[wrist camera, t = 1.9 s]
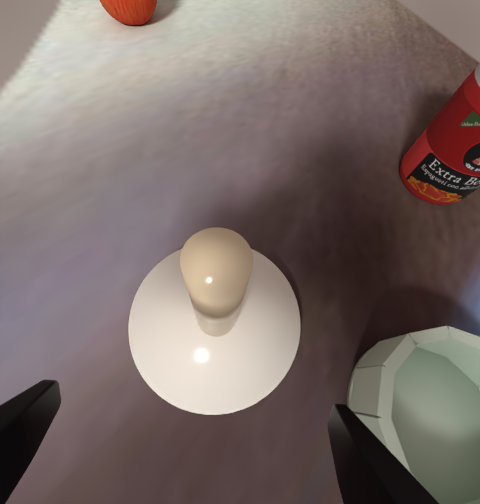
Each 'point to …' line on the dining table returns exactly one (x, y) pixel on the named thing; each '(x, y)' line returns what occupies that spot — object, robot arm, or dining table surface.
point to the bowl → (425, 407)
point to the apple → (130, 10)
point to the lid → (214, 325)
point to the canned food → (448, 149)
